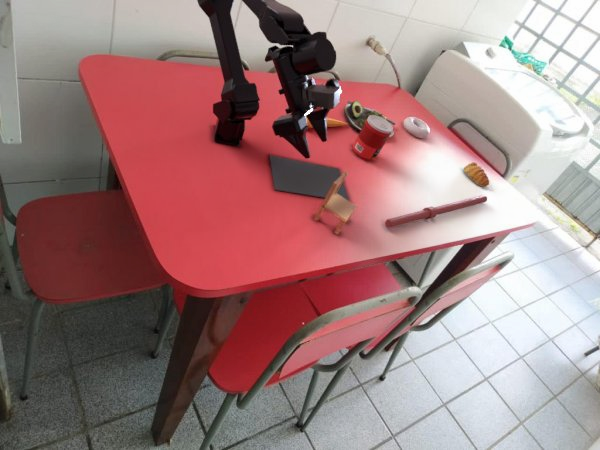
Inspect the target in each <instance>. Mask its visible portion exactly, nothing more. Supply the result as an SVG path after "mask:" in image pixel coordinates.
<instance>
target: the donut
mask: <svg viewBox="0 0 600 450" xmlns="http://www.w3.org/2000/svg"><path fill="white" fill-rule="evenodd" d="M403 128H404V130H405V131H406V132H407V133H409V134H410V135H411V136H413V137H416V138H419V139H424V138H427V137H428V136H429V135H430V131H431V130H430V127H429V125H428V124H427V123H426V122H425V121H423V120H422V119H420V118H418V117H416V116H408V117H406V118H405V119H404V120H403Z"/></svg>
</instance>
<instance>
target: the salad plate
mask: <svg viewBox="0 0 600 450" xmlns="http://www.w3.org/2000/svg"><path fill="white" fill-rule="evenodd" d="M346 103H347V104H346V105H345V106H344V109H343V111H344V114H343V115H344V117H345V120H346V123H347V124H350V125H349V126H350V127H351V128H352V130H353V131H355V132H356V133H358V134H359V133H360V131H361V129H362V127H363V126H364V124H365V122H366V120H367V118H368V117H369V116H370V115H376V116H379V117H382V118H384V119H385V120H387V121H388V122H389V123H390V124H391V125H392V126H396V122H395V121H393V120H391V119H389V118H387V116H384V115H383V113H380V112H379V111H377V110H376V109H373V108H368V107H364V106H363V105H362V103H361V102H360V101H359V100H354V101H351V100H347V101H346ZM394 133H395V132H394V131H392V133H391V134H390V136H389V138H392V137H393V136H395V135H394Z"/></svg>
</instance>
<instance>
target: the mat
mask: <svg viewBox="0 0 600 450" xmlns="http://www.w3.org/2000/svg"><path fill="white" fill-rule="evenodd" d="M268 158H269V163H270V169H271V175H272V182H273V187H274V191H277V192H284V193H291V194H294V195H295V194H296V195H303V196H308V197H315V198H321V199H325V198H326V196H327V194H328V192H329V190H330V189H331V187H332V185H333V183H334V182H335V181H336V180H337V179H338V178H339V177H340V176H341V175H342V174H341V171H340V169H339V167H332V166H327V165H322V164H317V163H312V162H308V161H307V162H306V161H303V160H297V159H291V158H287V157H281V156H277V155H271V154H269V155H268ZM337 194H339V195H340V196H342V197H343V198H345V199H346V200H348V201H349V202H351V201H350V199H349V195H348V192H347V189H346V186H345V183H344V182H343V183H342V184H341V186H340V188H339V190H338V192H337Z"/></svg>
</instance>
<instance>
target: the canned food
mask: <svg viewBox="0 0 600 450" xmlns="http://www.w3.org/2000/svg"><path fill="white" fill-rule="evenodd" d="M393 130H394V127H393V125H391V124H390V123H389V122H388V121H387V120H385V119H384V118H382V117H379V116H376V115H370V116H369V117H368V118H367V120H366V122H365V124H364V126H363V127H362V129H361V131H360V133H358V135H357V137H356V138H355V140H354V142H353V144H352V152H353V153H354V154H355V155H356V156H357V157H358V158H359V159H361V160H363V161H367V162H373V161H374V160H375V159H377V157H378V156H379V154H380V152H381V151H382V149H383V147H384V146H385V144H386V143H387V141H388V140H389V138H390V137H389V136H390V134H391V133H392V131H393ZM393 132H394V131H393Z"/></svg>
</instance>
